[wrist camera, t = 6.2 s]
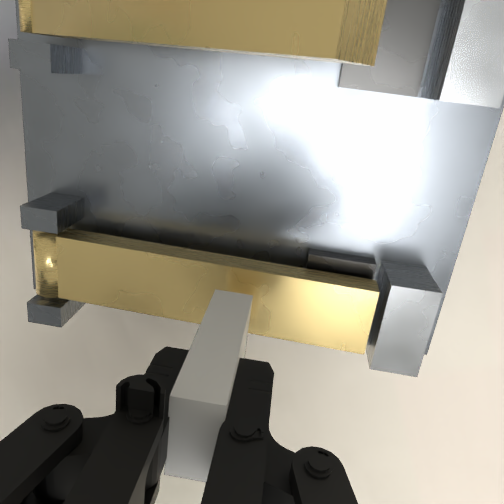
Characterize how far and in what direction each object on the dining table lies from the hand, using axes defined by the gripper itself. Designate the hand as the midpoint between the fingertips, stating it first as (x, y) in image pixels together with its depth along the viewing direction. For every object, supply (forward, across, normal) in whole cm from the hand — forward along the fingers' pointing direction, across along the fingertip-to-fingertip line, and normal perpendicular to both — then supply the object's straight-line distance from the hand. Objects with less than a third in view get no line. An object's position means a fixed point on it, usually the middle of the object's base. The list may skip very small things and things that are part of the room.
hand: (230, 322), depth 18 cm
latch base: (+8, -1, +6) cm, 10 cm away
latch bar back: (+3, -2, 0) cm, 4 cm away
